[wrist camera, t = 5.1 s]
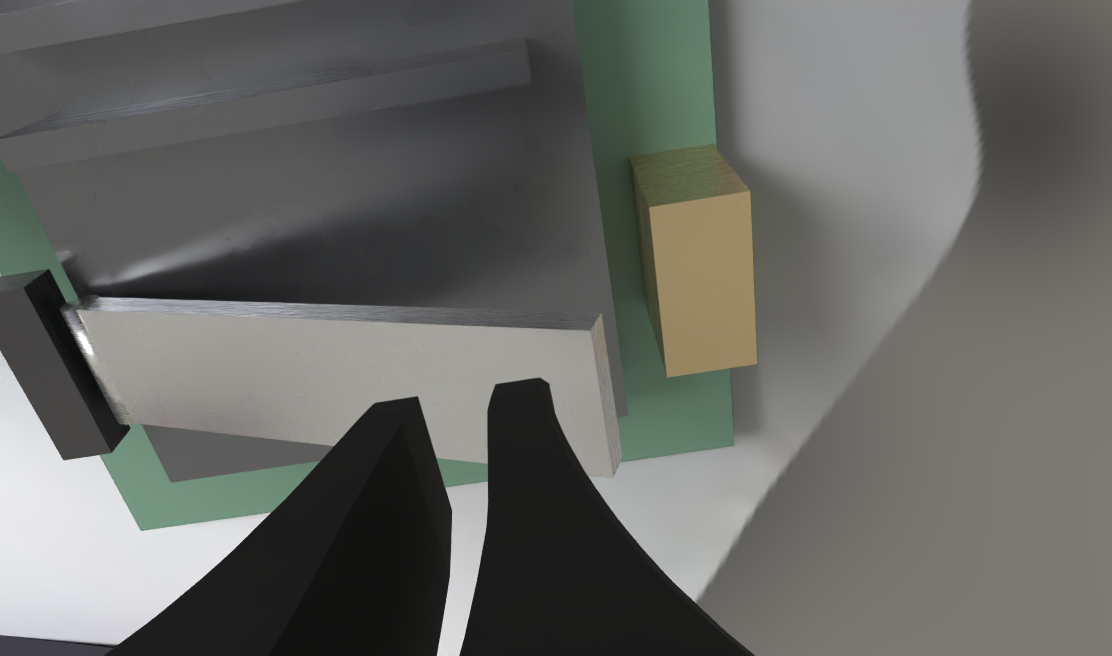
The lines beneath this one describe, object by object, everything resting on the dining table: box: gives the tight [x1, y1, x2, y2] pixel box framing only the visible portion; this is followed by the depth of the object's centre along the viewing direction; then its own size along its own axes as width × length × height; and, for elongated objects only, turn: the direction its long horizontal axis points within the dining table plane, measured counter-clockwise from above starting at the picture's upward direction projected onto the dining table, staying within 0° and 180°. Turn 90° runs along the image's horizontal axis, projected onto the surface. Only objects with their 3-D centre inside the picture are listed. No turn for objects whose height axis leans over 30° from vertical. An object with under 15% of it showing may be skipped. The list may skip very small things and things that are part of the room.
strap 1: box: [60, 295, 622, 478], centre depth 16 cm, size 12×3×1 cm, turn 99°
